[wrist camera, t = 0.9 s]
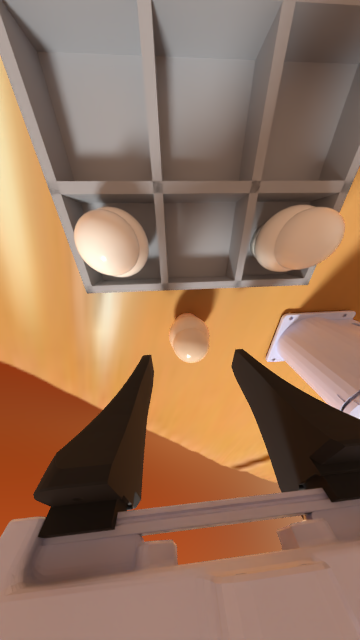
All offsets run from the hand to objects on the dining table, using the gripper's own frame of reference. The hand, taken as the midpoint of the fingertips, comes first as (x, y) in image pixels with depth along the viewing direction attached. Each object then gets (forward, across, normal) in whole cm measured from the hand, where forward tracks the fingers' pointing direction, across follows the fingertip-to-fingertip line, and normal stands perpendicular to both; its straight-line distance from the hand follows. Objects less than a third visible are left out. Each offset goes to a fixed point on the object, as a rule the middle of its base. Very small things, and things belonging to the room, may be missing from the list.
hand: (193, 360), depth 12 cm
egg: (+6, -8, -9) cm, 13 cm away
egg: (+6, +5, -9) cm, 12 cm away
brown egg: (+6, 0, 0) cm, 6 cm away
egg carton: (+6, -1, -12) cm, 14 cm away
